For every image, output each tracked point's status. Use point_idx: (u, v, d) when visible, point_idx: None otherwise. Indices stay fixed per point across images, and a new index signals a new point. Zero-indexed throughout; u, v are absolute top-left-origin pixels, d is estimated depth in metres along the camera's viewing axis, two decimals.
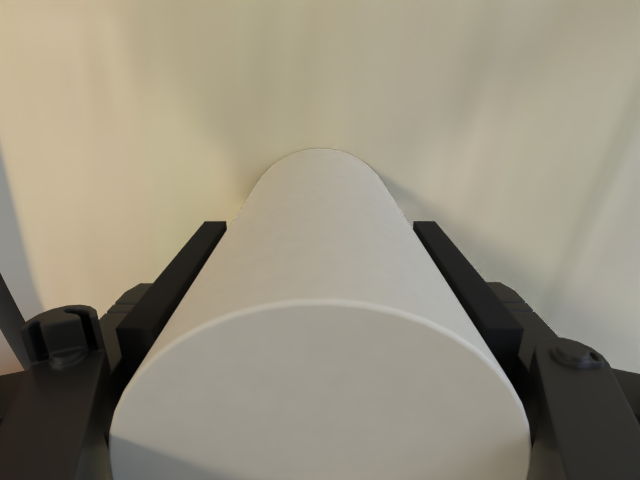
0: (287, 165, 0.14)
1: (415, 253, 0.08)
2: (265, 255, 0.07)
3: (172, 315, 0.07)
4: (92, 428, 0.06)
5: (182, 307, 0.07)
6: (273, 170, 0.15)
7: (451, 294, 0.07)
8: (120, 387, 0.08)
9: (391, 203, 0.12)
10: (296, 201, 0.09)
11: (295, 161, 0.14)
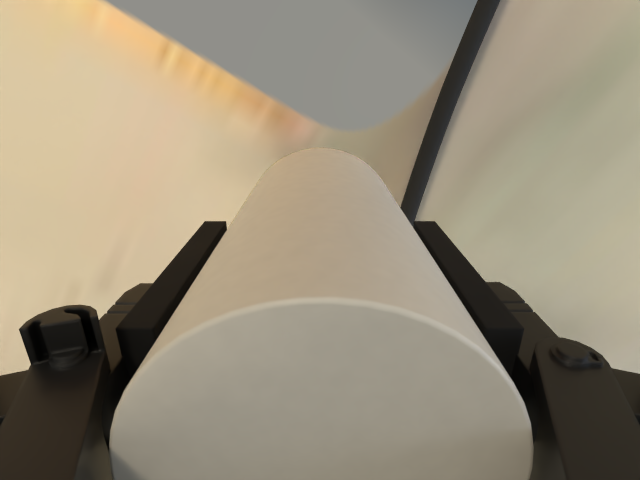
0: (288, 164, 0.14)
1: (416, 252, 0.08)
2: (266, 254, 0.06)
3: (173, 314, 0.07)
4: (92, 428, 0.06)
5: (183, 306, 0.06)
6: (274, 169, 0.15)
7: (453, 293, 0.07)
8: (120, 387, 0.08)
9: (392, 202, 0.12)
10: (296, 200, 0.09)
11: (296, 160, 0.14)
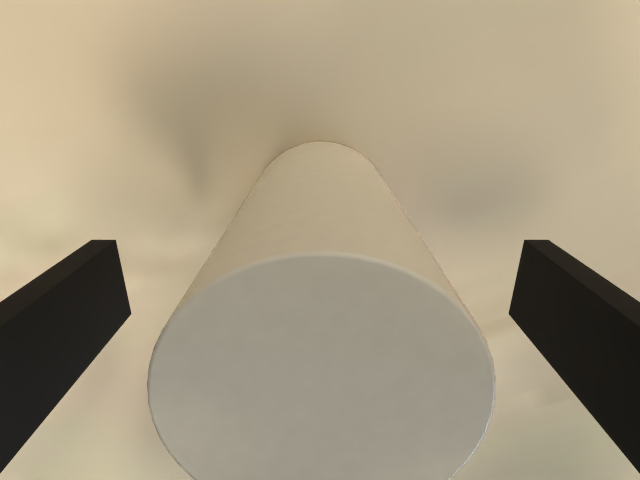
0: (291, 156, 0.15)
1: (403, 226, 0.09)
2: (275, 224, 0.08)
3: None
4: None
5: (206, 267, 0.08)
6: (278, 161, 0.16)
7: (432, 259, 0.08)
8: None
9: (385, 189, 0.13)
10: (300, 184, 0.11)
11: (298, 152, 0.16)
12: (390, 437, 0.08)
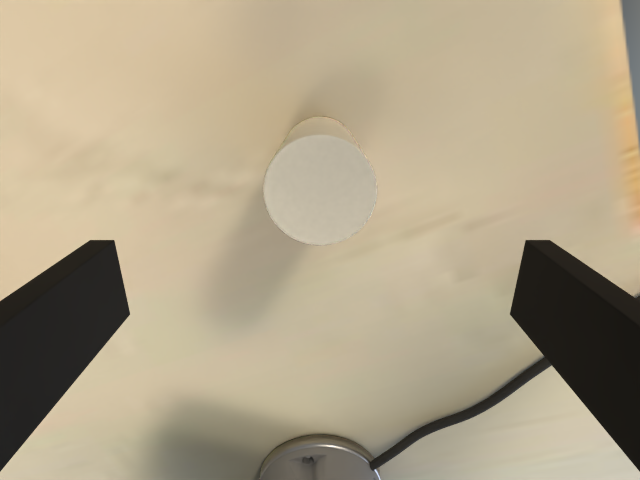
0: (304, 122, 0.31)
1: (350, 138, 0.24)
2: (304, 133, 0.23)
3: None
4: None
5: (281, 147, 0.23)
6: (298, 125, 0.31)
7: (359, 147, 0.24)
8: None
9: (349, 134, 0.28)
10: (311, 126, 0.26)
11: (308, 120, 0.31)
12: (343, 204, 0.23)
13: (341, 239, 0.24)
